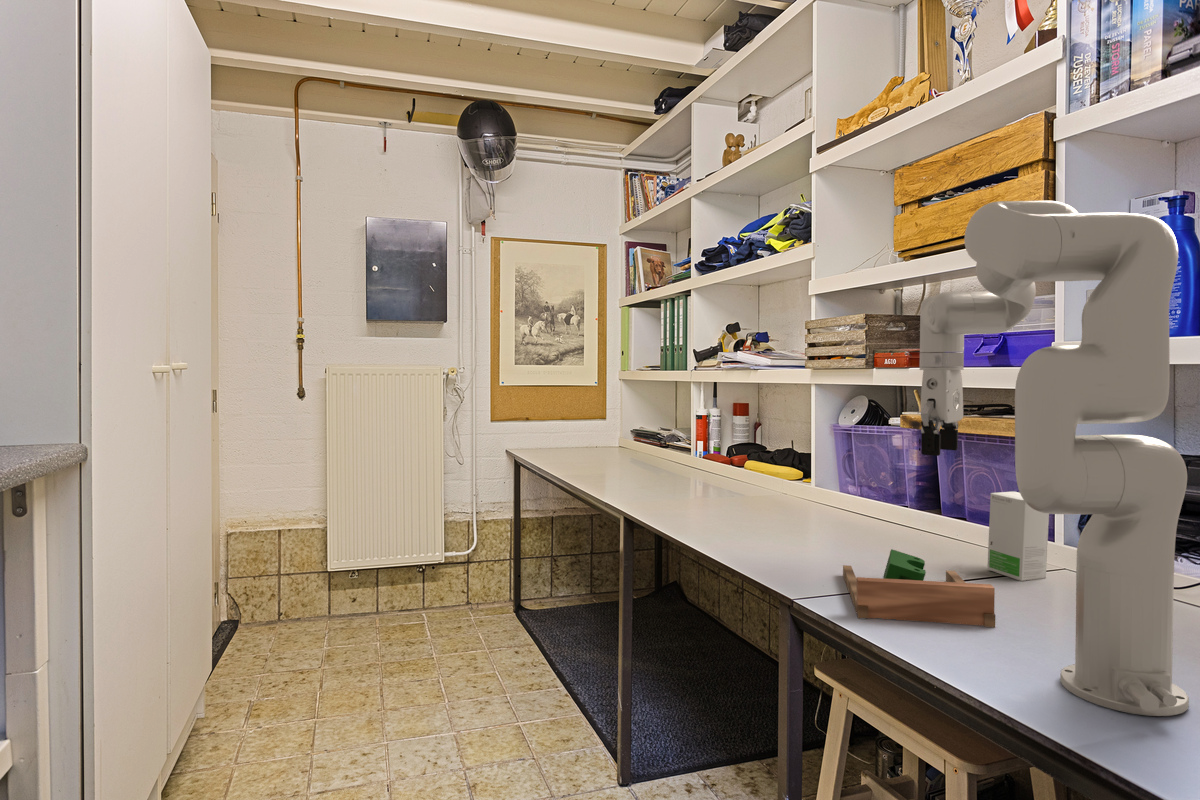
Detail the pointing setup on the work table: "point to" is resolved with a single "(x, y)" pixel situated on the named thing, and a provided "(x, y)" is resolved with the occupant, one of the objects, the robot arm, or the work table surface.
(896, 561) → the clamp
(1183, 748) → the work table surface
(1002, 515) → the skincare box
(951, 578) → the brown wooden tray
